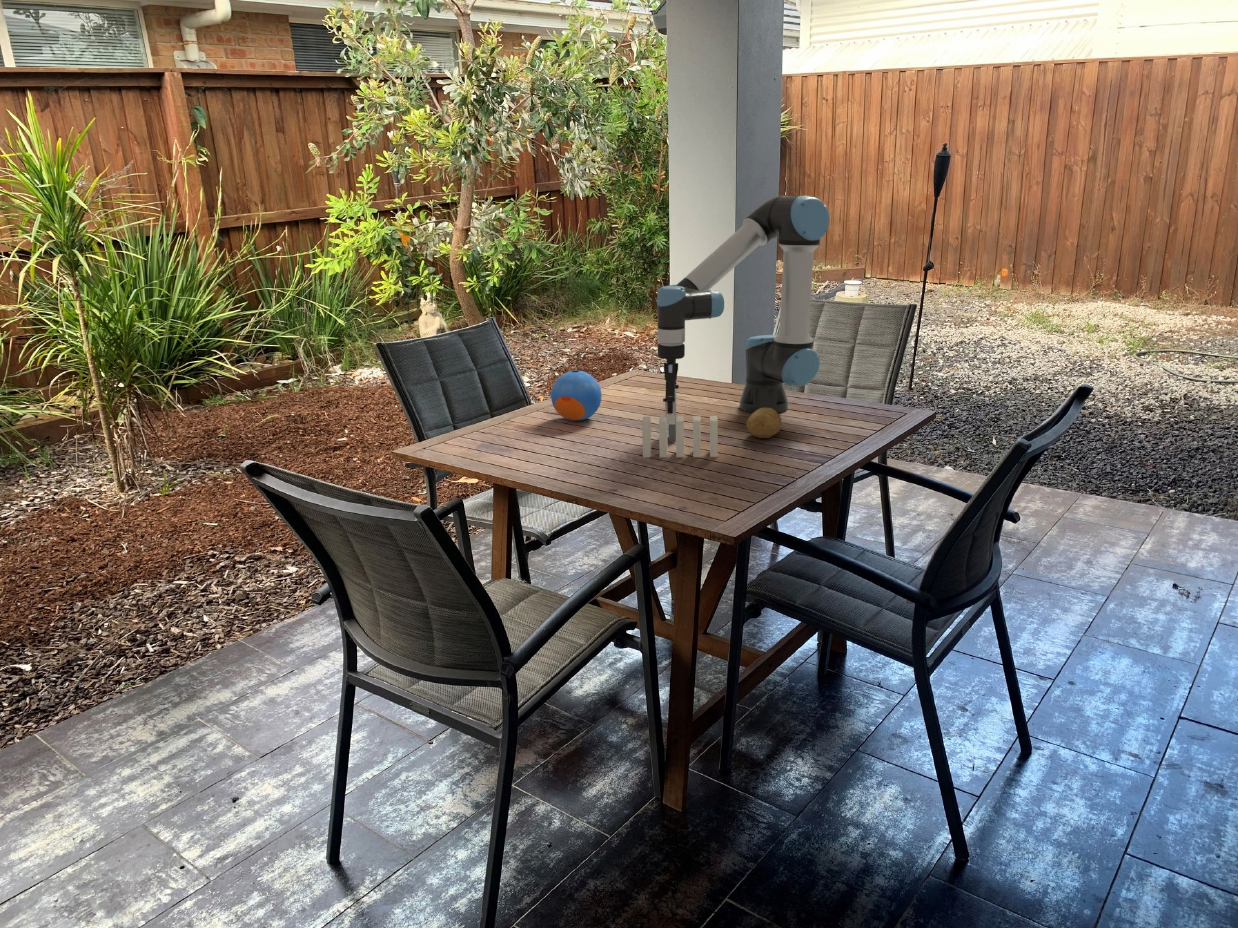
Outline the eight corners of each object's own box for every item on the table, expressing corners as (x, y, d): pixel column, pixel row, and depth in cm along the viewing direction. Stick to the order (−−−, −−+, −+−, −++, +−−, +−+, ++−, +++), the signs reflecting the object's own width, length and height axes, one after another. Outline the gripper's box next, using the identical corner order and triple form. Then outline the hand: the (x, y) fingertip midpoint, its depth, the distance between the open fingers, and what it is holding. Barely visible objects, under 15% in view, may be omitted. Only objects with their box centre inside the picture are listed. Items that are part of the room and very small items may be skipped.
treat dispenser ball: (544, 424, 278) (541, 375, 273) (565, 411, 292) (562, 364, 287) (590, 428, 273) (588, 378, 268) (610, 415, 286) (608, 367, 281)
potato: (782, 430, 265) (783, 403, 262) (779, 444, 252) (780, 416, 249) (749, 429, 267) (749, 402, 264) (744, 443, 254) (744, 415, 251)
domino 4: (684, 451, 249) (683, 416, 245) (683, 457, 244) (683, 421, 241) (676, 451, 249) (676, 416, 246) (676, 457, 244) (675, 421, 241)
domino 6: (717, 451, 248) (717, 416, 245) (717, 457, 243) (717, 421, 240) (709, 451, 248) (709, 416, 245) (710, 457, 243) (710, 421, 240)
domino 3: (676, 436, 262) (675, 403, 259) (675, 441, 257) (675, 407, 254) (669, 436, 262) (668, 403, 259) (668, 441, 258) (668, 407, 254)
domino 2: (667, 451, 249) (667, 416, 246) (667, 457, 244) (666, 421, 241) (660, 451, 249) (659, 416, 246) (659, 457, 244) (658, 421, 241)
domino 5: (700, 451, 248) (700, 416, 245) (700, 457, 244) (700, 421, 240) (693, 451, 248) (693, 416, 245) (693, 457, 244) (693, 421, 241)
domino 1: (651, 451, 249) (650, 416, 246) (650, 457, 245) (649, 421, 242) (644, 451, 250) (643, 416, 246) (642, 457, 245) (642, 421, 242)
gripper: (659, 335, 263) (659, 406, 270) (655, 352, 239) (655, 429, 246) (685, 335, 262) (684, 406, 269) (684, 352, 239) (683, 429, 245)
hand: (670, 417), depth 258 cm, fingers open, 13 cm apart
